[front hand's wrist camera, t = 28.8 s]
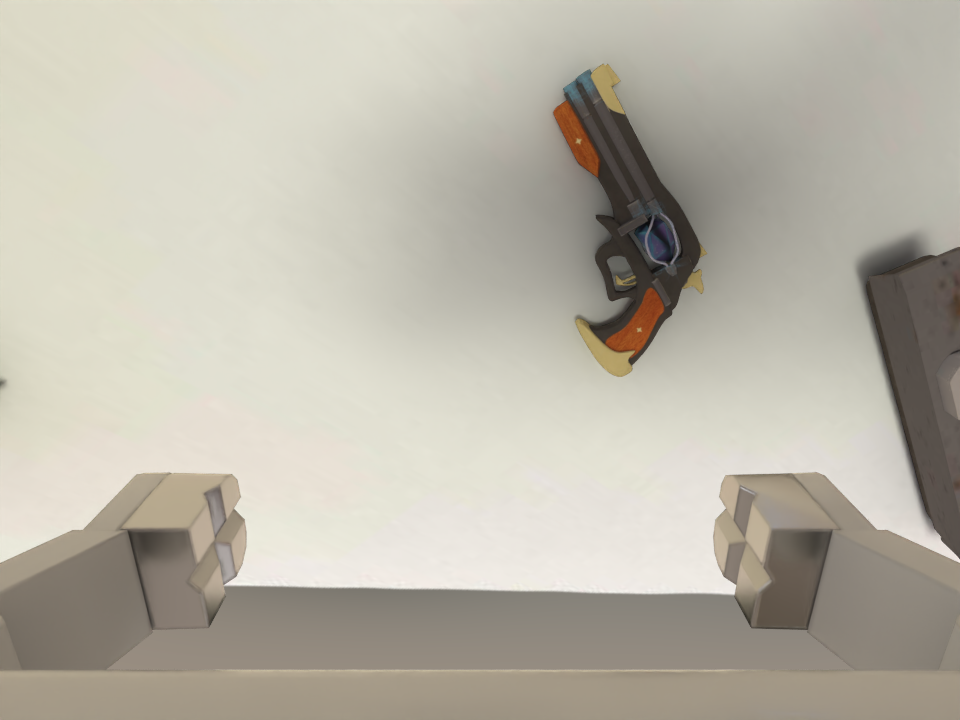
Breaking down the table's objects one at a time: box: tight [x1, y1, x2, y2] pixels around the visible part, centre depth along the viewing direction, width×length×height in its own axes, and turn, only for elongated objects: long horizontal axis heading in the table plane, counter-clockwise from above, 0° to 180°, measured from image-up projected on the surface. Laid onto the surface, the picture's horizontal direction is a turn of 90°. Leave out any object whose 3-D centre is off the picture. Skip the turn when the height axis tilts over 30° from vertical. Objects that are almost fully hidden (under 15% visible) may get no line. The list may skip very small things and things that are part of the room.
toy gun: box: [553, 64, 707, 377], centre depth 42 cm, size 3×19×10 cm
